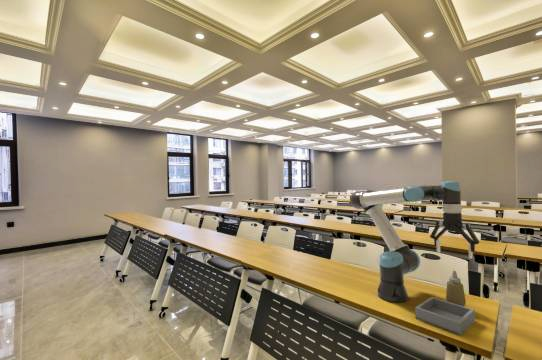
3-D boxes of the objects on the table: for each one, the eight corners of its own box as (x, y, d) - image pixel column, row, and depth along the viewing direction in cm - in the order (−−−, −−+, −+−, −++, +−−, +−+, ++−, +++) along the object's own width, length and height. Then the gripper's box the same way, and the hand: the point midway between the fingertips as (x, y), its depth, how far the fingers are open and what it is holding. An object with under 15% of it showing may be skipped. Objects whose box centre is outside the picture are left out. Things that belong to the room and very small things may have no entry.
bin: (415, 318, 117) (415, 307, 117) (432, 306, 128) (431, 296, 128) (460, 335, 103) (460, 323, 103) (474, 321, 114) (474, 309, 114)
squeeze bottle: (448, 310, 124) (447, 272, 124) (444, 302, 131) (442, 267, 132) (468, 312, 121) (467, 274, 121) (463, 305, 128) (461, 269, 129)
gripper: (421, 211, 135) (423, 251, 134) (481, 214, 114) (483, 262, 114) (428, 210, 139) (429, 249, 139) (486, 213, 119) (488, 259, 119)
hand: (454, 255), depth 126 cm, fingers open, 13 cm apart
